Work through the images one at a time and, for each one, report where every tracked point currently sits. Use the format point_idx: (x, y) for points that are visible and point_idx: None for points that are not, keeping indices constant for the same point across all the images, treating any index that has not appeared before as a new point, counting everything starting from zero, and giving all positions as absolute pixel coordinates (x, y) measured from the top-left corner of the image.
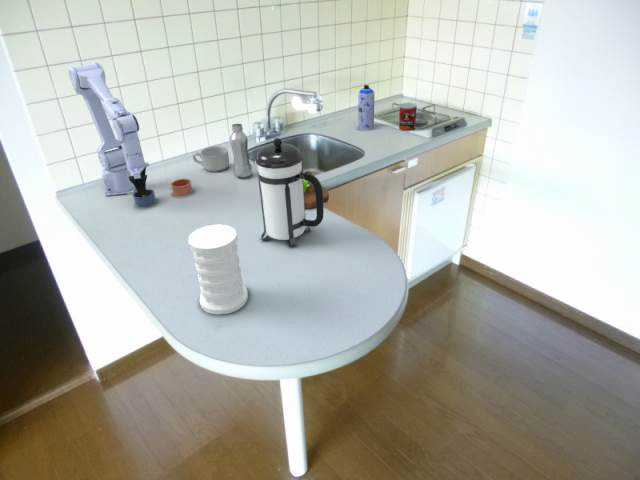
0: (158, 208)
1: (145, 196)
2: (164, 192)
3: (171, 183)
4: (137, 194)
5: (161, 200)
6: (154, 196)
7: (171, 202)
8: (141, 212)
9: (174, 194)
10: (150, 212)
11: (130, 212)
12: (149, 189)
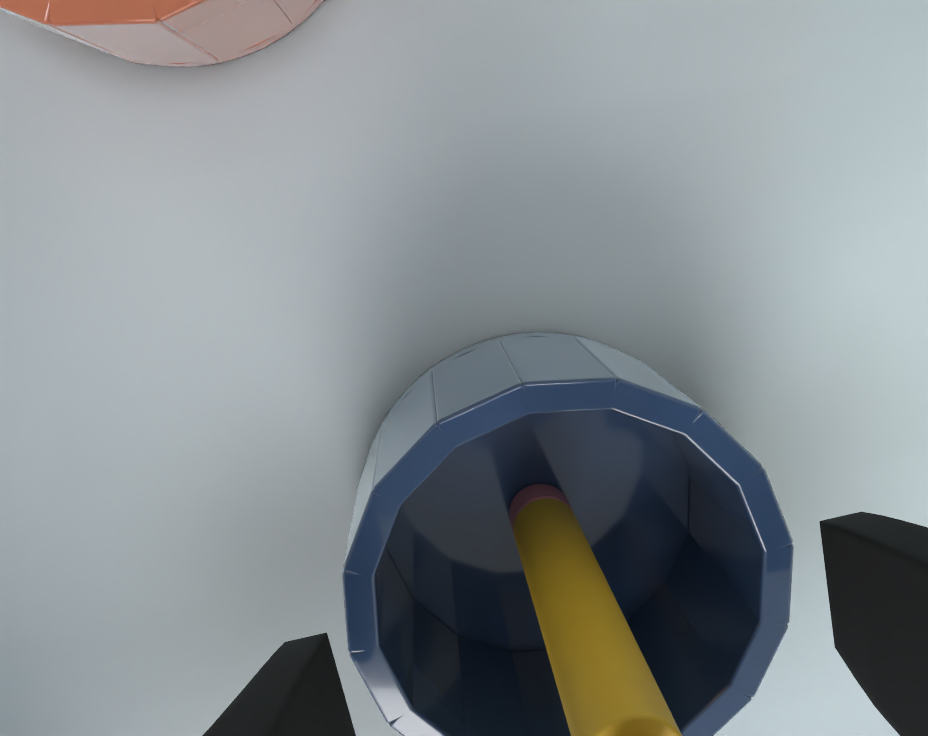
0: (769, 256)
1: (585, 541)
2: (83, 265)
3: (77, 12)
4: (465, 714)
5: (446, 260)
6: (599, 361)
7: (577, 47)
8: (839, 509)
9: (311, 2)
10: (884, 365)
11: (788, 672)
12: (379, 517)
